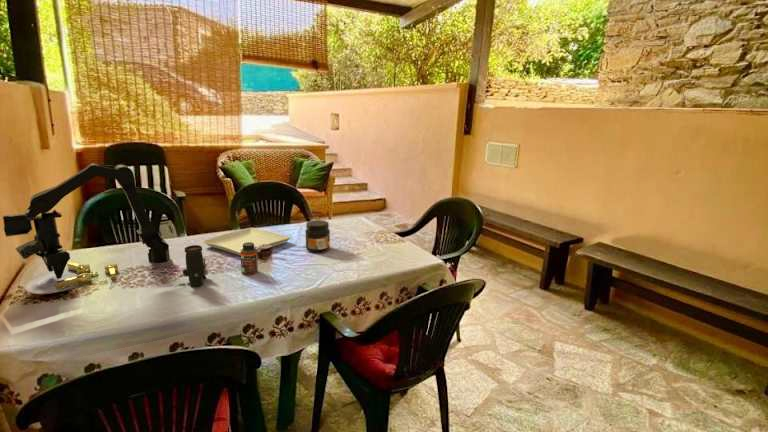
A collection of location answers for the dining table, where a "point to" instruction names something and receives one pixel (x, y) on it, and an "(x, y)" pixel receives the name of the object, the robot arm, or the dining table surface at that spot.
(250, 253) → the supplement bottle
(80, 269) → the knob front
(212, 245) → the square plate
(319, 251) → the supplement container
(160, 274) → the dining table surface
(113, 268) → the knob near
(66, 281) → the knob left
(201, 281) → the scope
